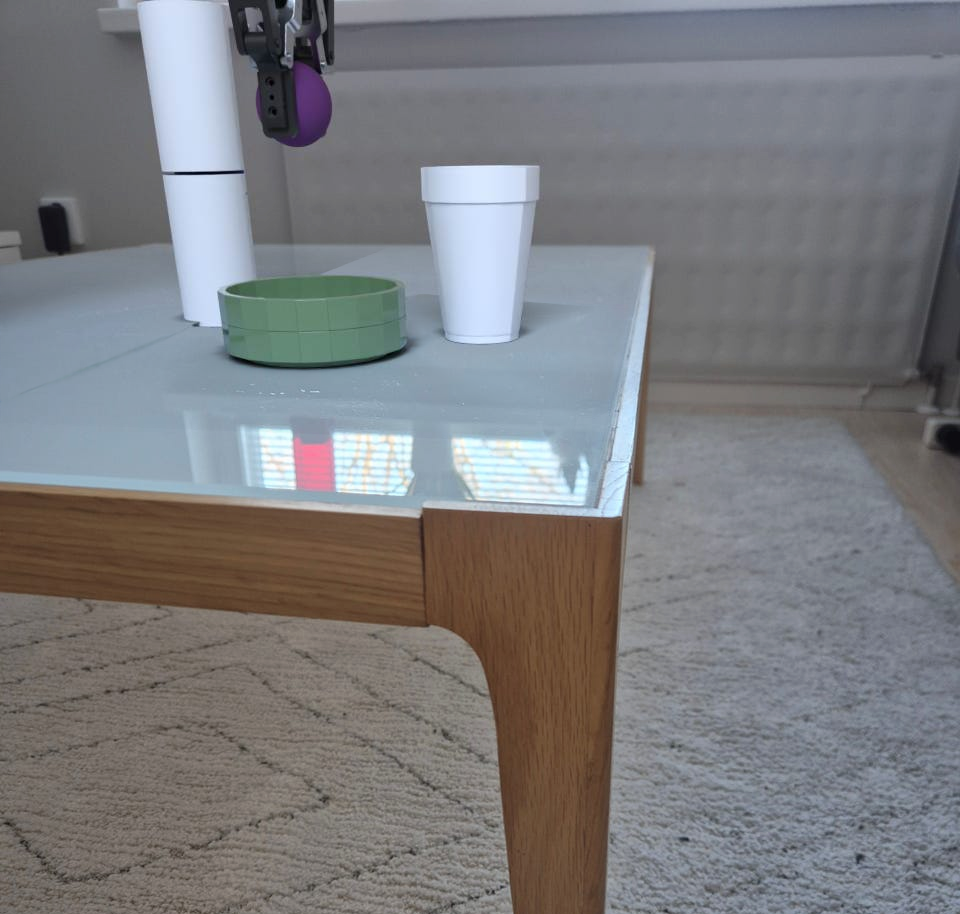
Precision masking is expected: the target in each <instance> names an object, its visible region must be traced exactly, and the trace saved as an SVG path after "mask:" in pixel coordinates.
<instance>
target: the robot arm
mask: <svg viewBox="0 0 960 914" xmlns="http://www.w3.org/2000/svg"><path fill="white" fill-rule="evenodd" d="M227 2H228V8H229V12H230V14H229V15H230V18H231V24H232V29H233V35H234V39H235V44H236V49H237V52H238V54H239V56H241V57H242V56H243V57H245V56H248V59H249V63H250V66H251V68H252V69H253V70H257V72H256V76H257V87H259V97H260V107H261V117H262V123H261V127H262V132H263V134H264V136H265V137H266V138H267V139H274V138H295V137H296V136H297V135H298V133H299V126H298V114H297V102H296V91H295V79H294V72H292V71H287V69H291V68H292V66H293V61H297V62H301V63H303V64H306V65H308V66H309V67H311V68H312V69H314V70H315V71H316V72H317V73H318V74H319V75H320V76H321V77H322V79H323V80H324V76H325V75H326V74H327V69H328V67H332V66H334V64H335V0H227ZM308 41H309V42H308ZM309 43H310V45H309ZM326 135H327V131H326V132H325V133H324V135H323V136H322V137H321V138H320V139H322V138H325V136H326Z"/></svg>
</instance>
